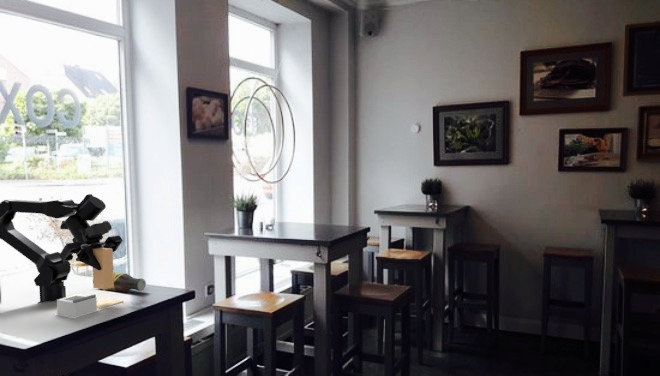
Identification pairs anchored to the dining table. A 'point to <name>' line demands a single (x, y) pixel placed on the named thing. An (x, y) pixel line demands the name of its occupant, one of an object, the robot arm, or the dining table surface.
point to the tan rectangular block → (103, 269)
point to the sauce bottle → (126, 283)
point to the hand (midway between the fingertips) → (105, 268)
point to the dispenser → (83, 305)
